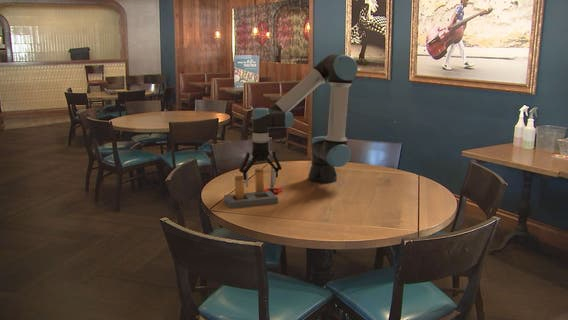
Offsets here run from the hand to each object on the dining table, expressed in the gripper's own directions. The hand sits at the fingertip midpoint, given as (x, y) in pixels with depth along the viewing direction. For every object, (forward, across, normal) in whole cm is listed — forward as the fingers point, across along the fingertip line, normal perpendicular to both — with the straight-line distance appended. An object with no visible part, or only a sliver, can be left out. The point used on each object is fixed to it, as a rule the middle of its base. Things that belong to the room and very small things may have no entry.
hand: (260, 185), depth 232 cm
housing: (+4, +8, +11) cm, 14 cm away
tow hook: (+4, -7, -2) cm, 8 cm away
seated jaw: (+4, +13, +11) cm, 17 cm away
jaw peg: (+4, 0, 0) cm, 4 cm away
